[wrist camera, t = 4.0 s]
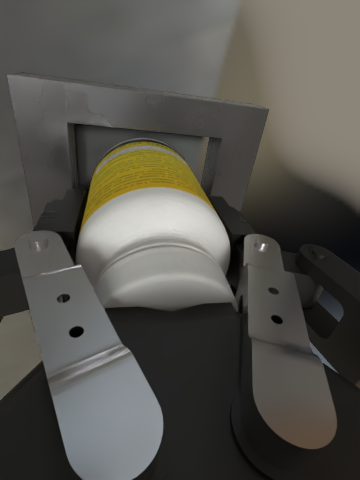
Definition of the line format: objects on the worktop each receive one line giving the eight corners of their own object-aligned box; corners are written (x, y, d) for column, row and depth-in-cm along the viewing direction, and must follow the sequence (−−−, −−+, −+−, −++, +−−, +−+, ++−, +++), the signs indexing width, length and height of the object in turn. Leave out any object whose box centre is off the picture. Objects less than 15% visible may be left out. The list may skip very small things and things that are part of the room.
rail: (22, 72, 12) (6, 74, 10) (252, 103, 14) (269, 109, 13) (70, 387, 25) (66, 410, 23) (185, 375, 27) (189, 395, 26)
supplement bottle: (70, 162, 14) (1, 310, 6) (168, 117, 13) (242, 205, 5) (122, 241, 17) (124, 408, 9) (203, 205, 16) (281, 346, 8)
